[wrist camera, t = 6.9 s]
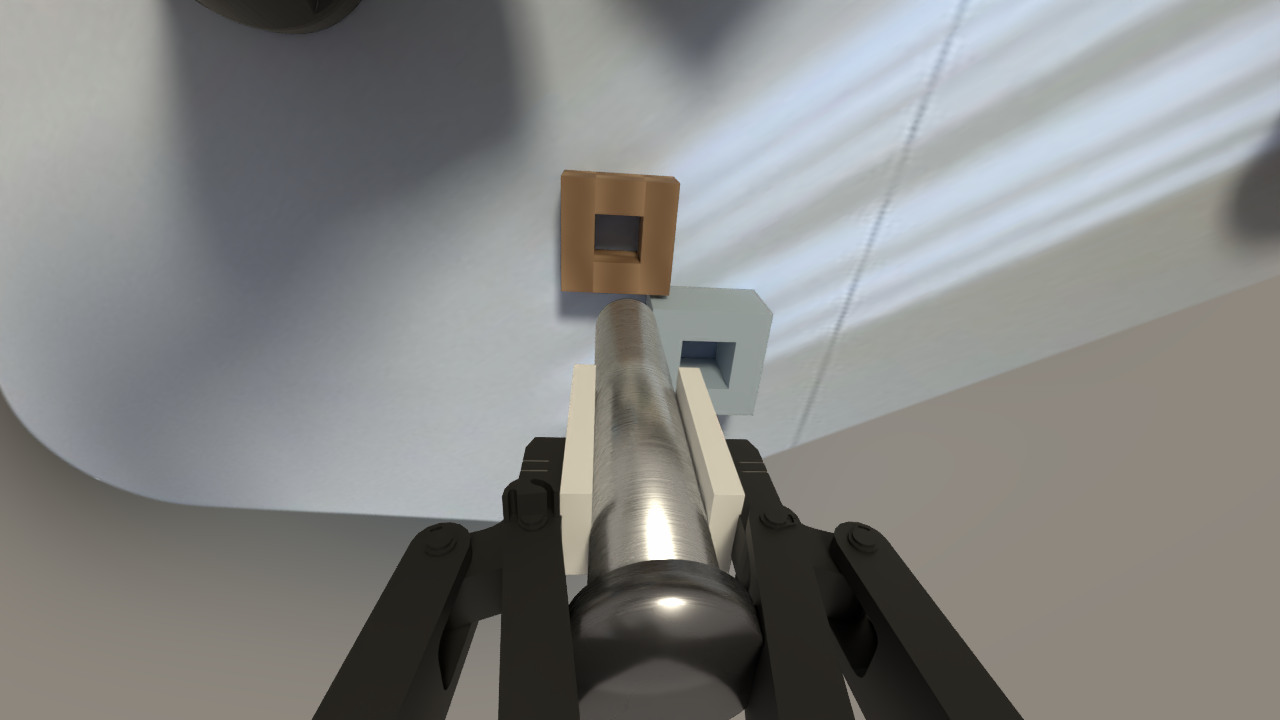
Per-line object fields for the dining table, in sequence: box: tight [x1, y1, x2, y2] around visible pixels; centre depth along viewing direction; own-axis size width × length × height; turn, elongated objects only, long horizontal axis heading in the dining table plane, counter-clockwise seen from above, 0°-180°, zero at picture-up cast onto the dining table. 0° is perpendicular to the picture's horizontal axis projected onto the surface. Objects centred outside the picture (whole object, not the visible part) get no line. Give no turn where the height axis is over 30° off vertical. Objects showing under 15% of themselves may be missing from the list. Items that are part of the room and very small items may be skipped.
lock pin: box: [569, 299, 764, 720], centre depth 17 cm, size 4×4×17 cm
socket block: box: [646, 286, 773, 416], centre depth 46 cm, size 10×10×6 cm
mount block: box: [561, 170, 680, 296], centre depth 42 cm, size 9×9×4 cm
